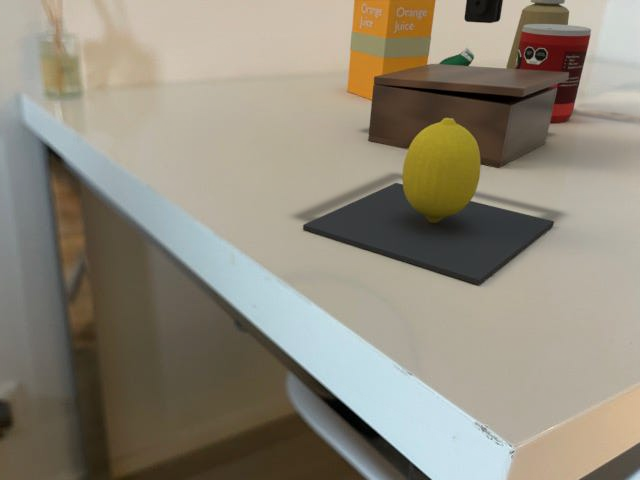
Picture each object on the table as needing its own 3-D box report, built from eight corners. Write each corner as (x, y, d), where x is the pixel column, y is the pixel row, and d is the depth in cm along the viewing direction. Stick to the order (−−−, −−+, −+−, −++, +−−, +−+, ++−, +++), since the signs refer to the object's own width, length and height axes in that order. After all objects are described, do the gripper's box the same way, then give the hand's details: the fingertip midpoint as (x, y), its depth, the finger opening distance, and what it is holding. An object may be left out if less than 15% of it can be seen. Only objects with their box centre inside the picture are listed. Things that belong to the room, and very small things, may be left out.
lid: (568, 79, 71) (569, 72, 71) (522, 97, 62) (523, 88, 62) (430, 70, 81) (431, 63, 80) (373, 84, 72) (373, 76, 71)
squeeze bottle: (495, 93, 101) (518, -39, 93) (510, 85, 107) (533, -39, 99) (550, 100, 97) (579, -37, 89) (563, 92, 103) (591, -37, 95)
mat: (553, 225, 52) (554, 221, 52) (478, 285, 42) (479, 279, 42) (395, 186, 60) (396, 182, 60) (302, 229, 50) (303, 224, 50)
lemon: (449, 242, 47) (467, 131, 44) (383, 222, 51) (394, 117, 47) (483, 222, 51) (502, 118, 47) (419, 205, 54) (433, 106, 51)
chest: (545, 143, 75) (557, 87, 72) (499, 167, 66) (511, 105, 63) (423, 121, 83) (430, 70, 81) (367, 140, 74) (373, 84, 72)
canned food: (502, 108, 91) (518, 22, 86) (564, 112, 90) (584, 25, 85) (510, 120, 84) (527, 28, 79) (576, 124, 83) (598, 31, 78)
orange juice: (378, 102, 93) (394, -58, 84) (346, 91, 100) (357, -58, 91) (424, 99, 96) (444, -57, 87) (389, 88, 103) (404, -57, 94)
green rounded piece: (444, 89, 113) (474, 65, 110) (430, 71, 113) (460, 47, 109) (450, 80, 121) (478, 58, 118) (437, 64, 120) (465, 41, 117)
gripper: (520, -214, 53) (486, 30, 62) (579, -189, 63) (543, 18, 72) (435, -201, 58) (414, 25, 66) (503, -179, 68) (477, 14, 76)
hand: (481, 21), depth 69 cm, fingers closed
